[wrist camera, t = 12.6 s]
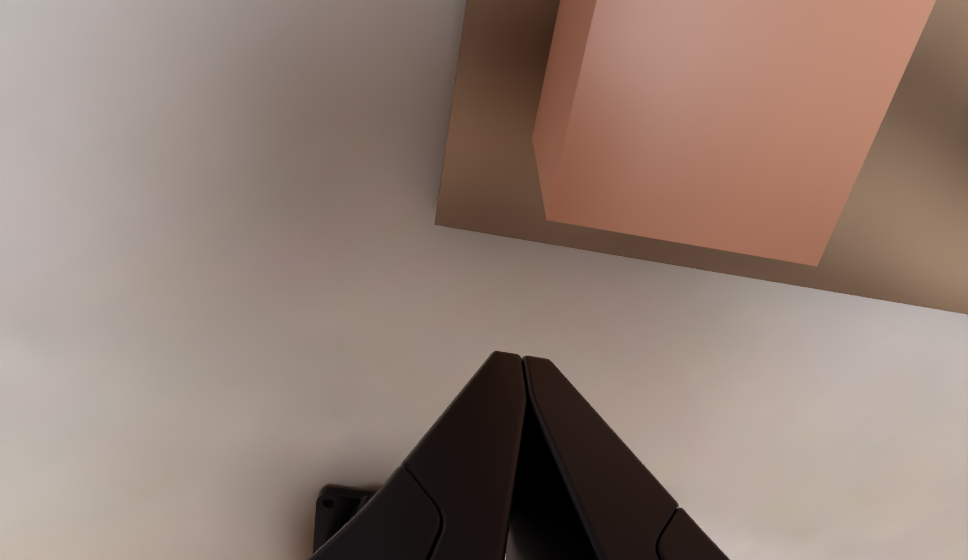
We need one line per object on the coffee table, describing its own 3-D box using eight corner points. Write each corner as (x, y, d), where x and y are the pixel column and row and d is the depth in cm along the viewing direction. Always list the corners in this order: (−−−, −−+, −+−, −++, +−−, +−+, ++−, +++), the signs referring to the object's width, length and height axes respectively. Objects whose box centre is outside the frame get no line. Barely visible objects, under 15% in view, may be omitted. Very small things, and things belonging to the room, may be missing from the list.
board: (1059, 316, 22) (1088, 334, 21) (438, 211, 21) (434, 224, 20) (1315, -71, 17) (1371, -74, 16) (502, -236, 16) (502, -252, 14)
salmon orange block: (712, 169, 18) (816, 266, 12) (532, 138, 17) (546, 220, 11) (780, -33, 15) (954, -40, 9) (575, -73, 15) (620, -106, 9)
